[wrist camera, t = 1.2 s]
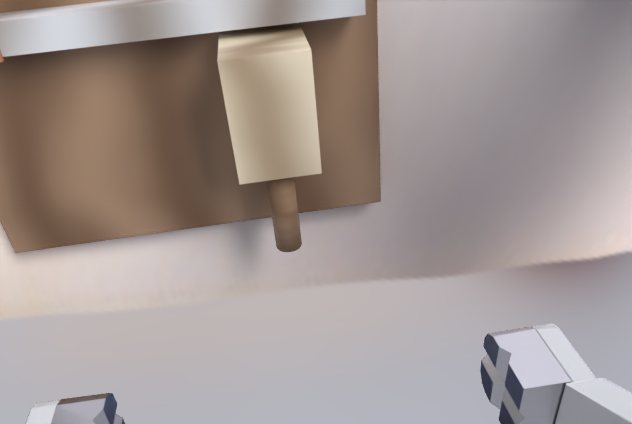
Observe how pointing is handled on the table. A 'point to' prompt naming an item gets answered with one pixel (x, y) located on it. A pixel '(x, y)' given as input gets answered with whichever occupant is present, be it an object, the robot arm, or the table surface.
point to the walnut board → (164, 115)
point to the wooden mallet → (272, 115)
